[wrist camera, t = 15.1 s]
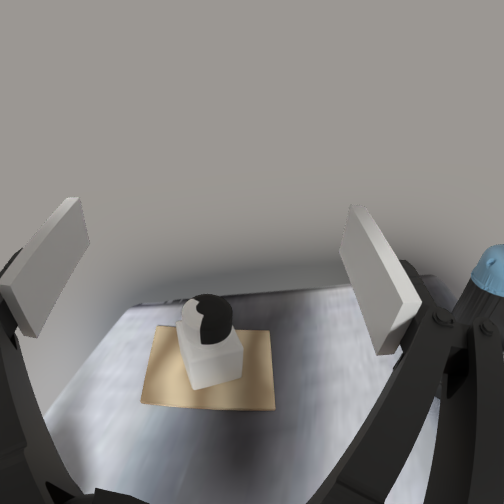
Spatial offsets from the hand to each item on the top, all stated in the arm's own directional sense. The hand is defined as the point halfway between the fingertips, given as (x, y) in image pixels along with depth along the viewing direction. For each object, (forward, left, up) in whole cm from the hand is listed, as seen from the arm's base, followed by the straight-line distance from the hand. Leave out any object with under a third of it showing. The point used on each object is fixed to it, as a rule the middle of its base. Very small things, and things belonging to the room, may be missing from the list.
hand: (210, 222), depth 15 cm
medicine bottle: (+2, -14, -32) cm, 34 cm away
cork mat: (+2, -14, -32) cm, 35 cm away
